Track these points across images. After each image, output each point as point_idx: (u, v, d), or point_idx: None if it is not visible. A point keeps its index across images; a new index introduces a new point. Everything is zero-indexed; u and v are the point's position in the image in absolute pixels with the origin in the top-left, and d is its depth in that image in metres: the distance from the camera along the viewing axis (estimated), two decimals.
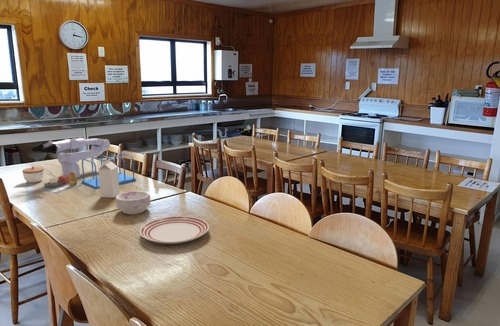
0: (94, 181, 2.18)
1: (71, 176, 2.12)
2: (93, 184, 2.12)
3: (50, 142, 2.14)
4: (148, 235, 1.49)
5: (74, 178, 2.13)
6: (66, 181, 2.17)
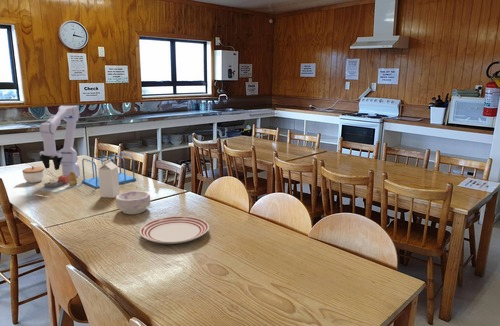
0: (94, 181, 2.18)
1: (71, 176, 2.12)
2: (93, 184, 2.13)
3: (46, 155, 2.05)
4: (148, 235, 1.49)
5: (74, 178, 2.13)
6: (66, 181, 2.17)
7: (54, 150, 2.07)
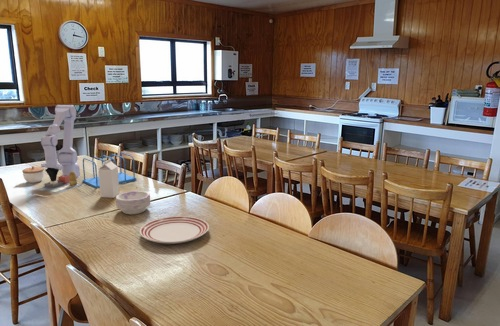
0: (95, 180, 2.19)
1: (71, 176, 2.12)
2: (93, 183, 2.13)
3: None
4: (148, 235, 1.49)
5: (74, 178, 2.13)
6: (66, 181, 2.17)
7: (55, 162, 2.09)
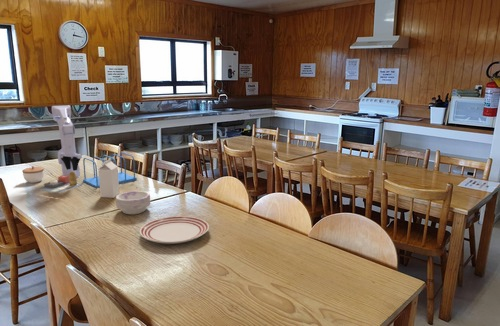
0: (95, 180, 2.20)
1: (71, 176, 2.12)
2: (94, 183, 2.14)
3: (66, 156, 2.08)
4: (148, 235, 1.49)
5: (74, 178, 2.13)
6: (66, 181, 2.17)
7: (74, 151, 2.10)
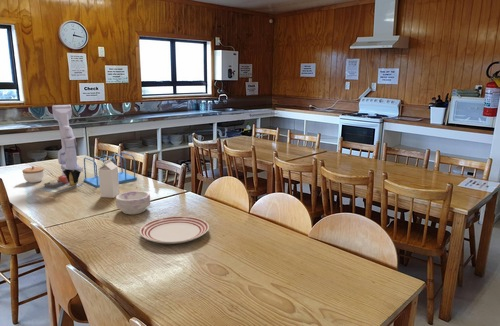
0: (95, 180, 2.20)
1: (71, 176, 2.12)
2: (94, 183, 2.15)
3: (67, 169, 2.10)
4: (148, 235, 1.49)
5: None
6: (66, 181, 2.17)
7: (75, 164, 2.12)
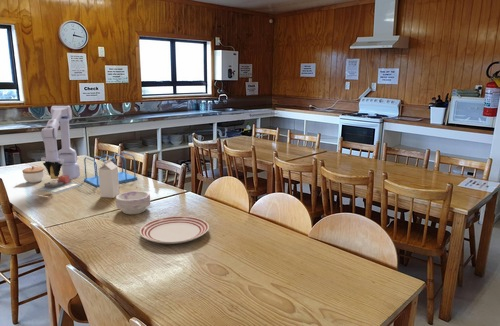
0: (96, 179, 2.21)
1: (52, 169, 2.00)
2: (94, 182, 2.15)
3: (48, 161, 1.98)
4: (148, 235, 1.49)
5: None
6: (66, 181, 2.17)
7: (56, 156, 1.99)
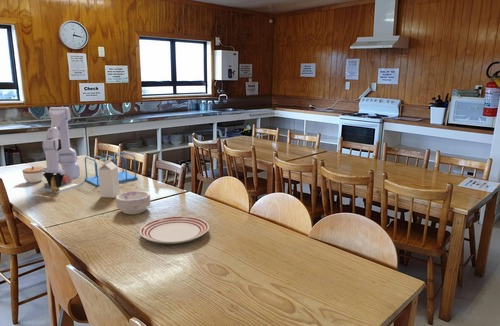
0: (96, 179, 2.22)
1: (53, 181, 2.01)
2: (95, 182, 2.16)
3: (49, 172, 1.99)
4: (148, 235, 1.49)
5: None
6: (66, 181, 2.17)
7: (57, 167, 2.00)
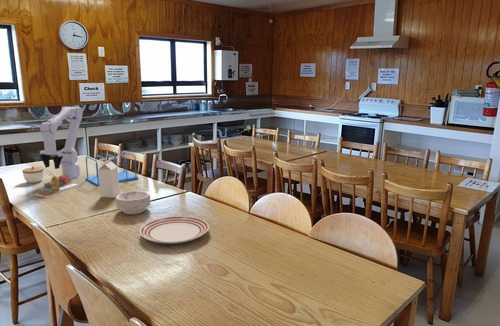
0: (97, 178, 2.23)
1: (53, 181, 2.01)
2: (95, 181, 2.17)
3: (46, 154, 2.08)
4: (148, 235, 1.49)
5: (56, 184, 2.02)
6: (66, 181, 2.17)
7: (54, 149, 2.09)
